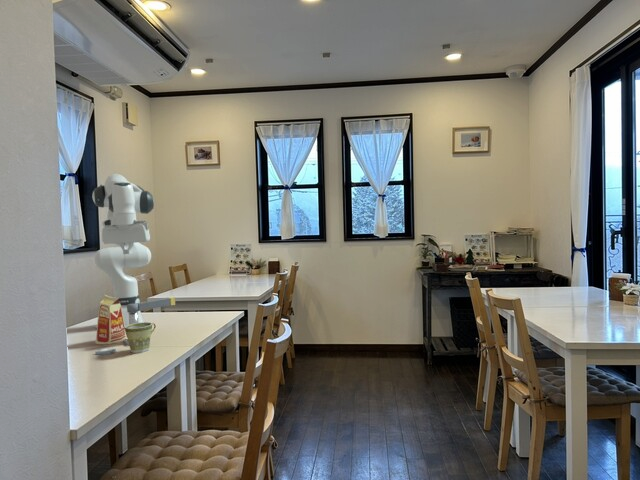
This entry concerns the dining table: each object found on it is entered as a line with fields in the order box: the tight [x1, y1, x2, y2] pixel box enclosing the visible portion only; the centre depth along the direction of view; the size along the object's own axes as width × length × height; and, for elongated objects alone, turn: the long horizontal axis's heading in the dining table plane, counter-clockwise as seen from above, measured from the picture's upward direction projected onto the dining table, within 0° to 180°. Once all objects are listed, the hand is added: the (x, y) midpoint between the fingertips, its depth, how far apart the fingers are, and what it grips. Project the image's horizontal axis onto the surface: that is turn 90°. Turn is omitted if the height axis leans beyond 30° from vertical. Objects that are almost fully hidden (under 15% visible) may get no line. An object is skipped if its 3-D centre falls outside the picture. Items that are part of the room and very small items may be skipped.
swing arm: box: [127, 296, 176, 313], centre depth 196 cm, size 20×4×3 cm, turn 135°
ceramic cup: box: [125, 321, 156, 354], centre depth 178 cm, size 13×10×10 cm
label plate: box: [95, 348, 117, 355], centre depth 177 cm, size 6×4×1 cm, turn 80°
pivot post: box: [122, 312, 139, 347], centre depth 190 cm, size 8×8×12 cm
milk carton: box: [95, 294, 127, 345], centre depth 194 cm, size 9×9×20 cm
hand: (127, 253), depth 191 cm, fingers closed
